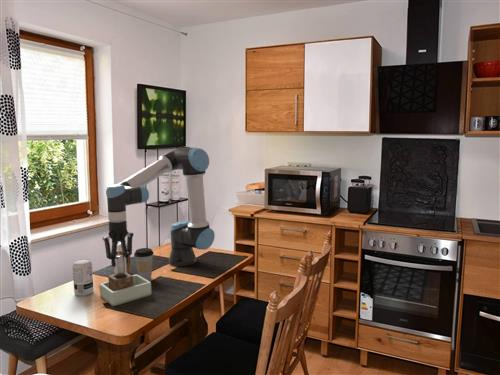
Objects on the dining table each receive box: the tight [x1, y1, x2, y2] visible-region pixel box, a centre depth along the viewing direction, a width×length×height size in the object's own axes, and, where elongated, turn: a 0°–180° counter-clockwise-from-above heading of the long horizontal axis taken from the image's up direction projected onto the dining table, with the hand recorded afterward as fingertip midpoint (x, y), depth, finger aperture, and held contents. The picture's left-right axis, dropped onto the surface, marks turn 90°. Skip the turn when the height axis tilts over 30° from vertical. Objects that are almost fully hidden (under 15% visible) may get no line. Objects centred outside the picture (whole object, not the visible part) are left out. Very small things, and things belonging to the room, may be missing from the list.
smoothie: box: [116, 241, 131, 274], centre depth 213 cm, size 8×8×20 cm
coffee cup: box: [133, 247, 155, 281], centre depth 206 cm, size 9×9×15 cm
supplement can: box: [71, 258, 95, 297], centre depth 189 cm, size 8×8×15 cm
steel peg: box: [115, 255, 125, 279], centre depth 184 cm, size 4×4×12 cm
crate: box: [99, 273, 152, 307], centre depth 187 cm, size 18×14×6 cm
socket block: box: [107, 272, 133, 292], centre depth 185 cm, size 8×8×10 cm
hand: (120, 271), depth 184 cm, fingers closed on steel peg, 3 cm apart
